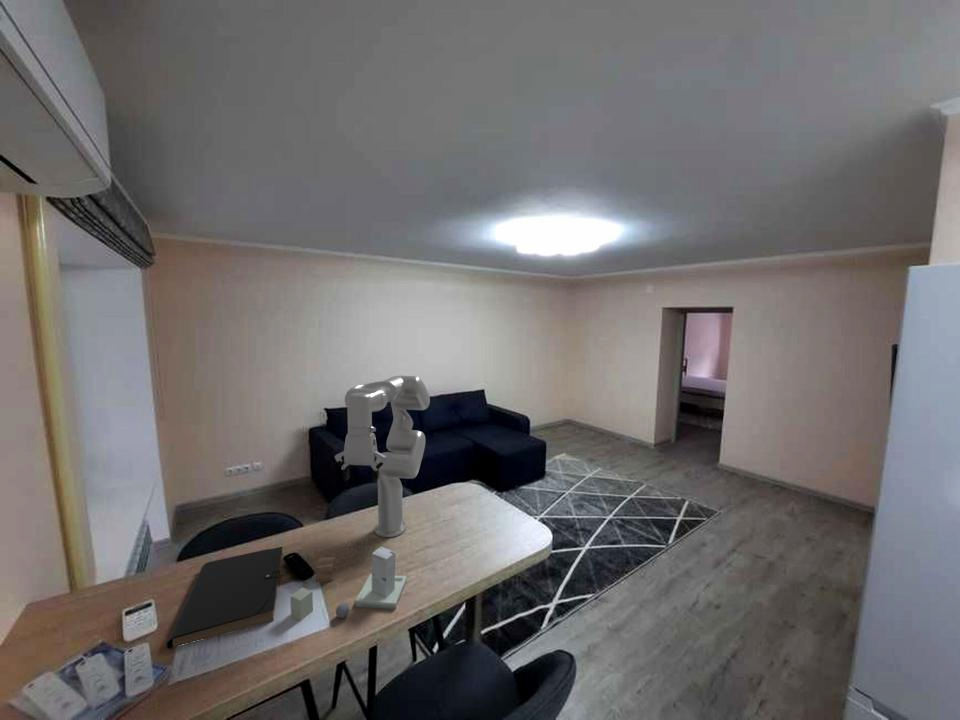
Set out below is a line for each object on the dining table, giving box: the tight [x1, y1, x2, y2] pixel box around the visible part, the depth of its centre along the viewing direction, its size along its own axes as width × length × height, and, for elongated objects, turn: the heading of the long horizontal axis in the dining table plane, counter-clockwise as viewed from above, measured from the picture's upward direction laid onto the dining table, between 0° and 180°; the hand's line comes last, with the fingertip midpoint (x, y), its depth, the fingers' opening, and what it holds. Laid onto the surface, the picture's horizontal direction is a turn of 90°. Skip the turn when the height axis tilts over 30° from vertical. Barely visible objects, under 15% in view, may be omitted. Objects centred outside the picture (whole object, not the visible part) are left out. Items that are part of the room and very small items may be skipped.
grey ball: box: [335, 602, 350, 619], centre depth 107 cm, size 4×4×4 cm
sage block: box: [289, 587, 314, 622], centre depth 107 cm, size 4×4×6 cm
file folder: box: [166, 545, 284, 650], centre depth 115 cm, size 33×4×24 cm
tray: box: [354, 573, 408, 610], centre depth 116 cm, size 12×12×2 cm
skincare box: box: [371, 546, 397, 597], centre depth 116 cm, size 6×4×12 cm
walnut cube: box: [315, 556, 336, 583], centre depth 123 cm, size 5×5×5 cm
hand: (361, 480), depth 126 cm, fingers open, 9 cm apart
